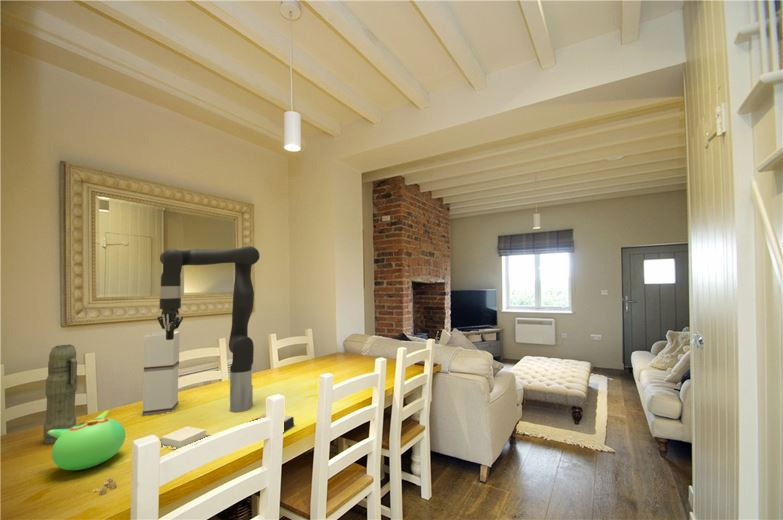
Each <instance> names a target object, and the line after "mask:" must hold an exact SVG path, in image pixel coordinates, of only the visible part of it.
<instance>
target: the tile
mask: <svg viewBox="0 0 783 520" xmlns="http://www.w3.org/2000/svg"><path fill="white" fill-rule="evenodd" d="M206 435H207V431H206V429H204V428H199V427H193V426H185V427H182V428H179V429H177V430H175V431H172V432H170V433H168V434H166V435H163V436H161V438H160V439H161V444H163V445H167V446H171V447H176V448H181V447H183V446H186V445H188V444H191V443H193V442H196V441H198V440H200V439H202V438H204V437H206Z"/></svg>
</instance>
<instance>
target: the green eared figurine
mask: <svg viewBox="0 0 783 520" xmlns="http://www.w3.org/2000/svg"><path fill="white" fill-rule="evenodd" d="M109 414H110V410H104V412H102V413H101V414H98V415H97V416H95V418H93V419H90V420H86V421H83V422H80V423H78V424H76V426H74V427H72V428H70V429H54V430H50V431H48V432H47V433H48V434H49V435H51V436H53V437H55V438H57V440H56V442H55V444H53V445H52V449H51V458H52V459H51V460H52V462H53V463H54V464H55V465H56V467H58V468H60V469H62V470H66V471H79V470H80V471H81V470H82V471H83V470H85V469H86V470H87V469H89V468H93V467H96V466H98V465H100V464H102V463H105V462H106V461H108V460H109V459H111V458H112V457H113V456H115V455H116V454H117V453H118V452H119V451H120V450H121V448H122V447H123V445H124V443H125V440H126V430H125V426H123V424H122V423H121V422H119V421H117V420H116V419H112V418H107V417H108V415H109Z"/></svg>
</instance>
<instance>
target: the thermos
mask: <svg viewBox="0 0 783 520" xmlns="http://www.w3.org/2000/svg"><path fill="white" fill-rule="evenodd" d="M47 363H48V364H47V365H48V366H47V368H48V369H47V370H48V375H47V377H46V380H45V393H44V394H45V396H46V408H45V409H46V414H45V415H46V416H45V417H46V418H45V422H44V424H43V432H42V433H43V434H42V435H43V445H45V446H51V445H52V444H53V445H54V444H55V442H56V440H57V438H55V437H53V436H51V435H49V434H48V433H47V432H48V431H50V430H54V429H70V428H72V427H74V426H76V425H77V417H76V415H75V413H76V411H75V409H76V392H77V390H78V373H77V372H78V371H77V370H78V361H77V350H76V348H75V345H73V344H61V345H59V344H58V345H55V346H54V347H51V350H50V353H49V355H48V362H47ZM53 445H52V446H53Z"/></svg>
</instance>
